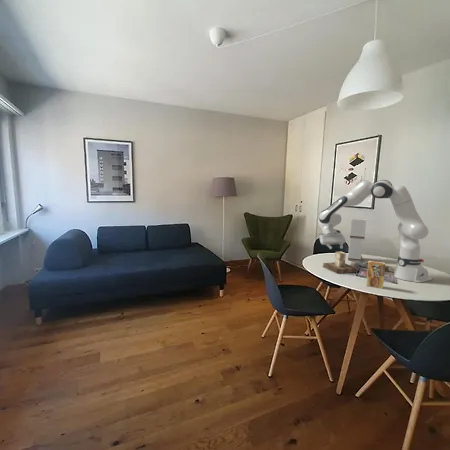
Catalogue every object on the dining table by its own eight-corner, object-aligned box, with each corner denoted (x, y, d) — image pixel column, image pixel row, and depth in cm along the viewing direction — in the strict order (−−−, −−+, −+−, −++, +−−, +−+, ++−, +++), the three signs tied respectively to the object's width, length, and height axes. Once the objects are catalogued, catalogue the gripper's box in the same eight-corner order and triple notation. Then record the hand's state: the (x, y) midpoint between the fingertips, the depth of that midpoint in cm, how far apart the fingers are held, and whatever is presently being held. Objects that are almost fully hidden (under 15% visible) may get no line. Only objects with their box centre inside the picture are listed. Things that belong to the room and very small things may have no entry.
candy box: (382, 286, 158) (385, 262, 156) (383, 288, 155) (385, 264, 153) (366, 283, 163) (368, 260, 160) (366, 286, 159) (368, 262, 157)
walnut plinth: (341, 265, 201) (341, 261, 201) (356, 272, 186) (356, 268, 185) (323, 266, 197) (323, 263, 197) (336, 273, 182) (337, 269, 182)
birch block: (340, 264, 194) (341, 251, 193) (344, 266, 189) (345, 253, 188) (334, 264, 193) (335, 251, 192) (338, 266, 188) (339, 253, 187)
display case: (362, 262, 212) (366, 220, 207) (348, 260, 217) (351, 219, 212) (361, 258, 222) (365, 218, 217) (348, 257, 227) (351, 217, 222)
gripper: (319, 231, 197) (326, 246, 189) (342, 230, 202) (350, 245, 194) (315, 236, 202) (322, 251, 194) (338, 235, 207) (345, 250, 199)
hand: (336, 248), depth 194 cm, fingers open, 8 cm apart
